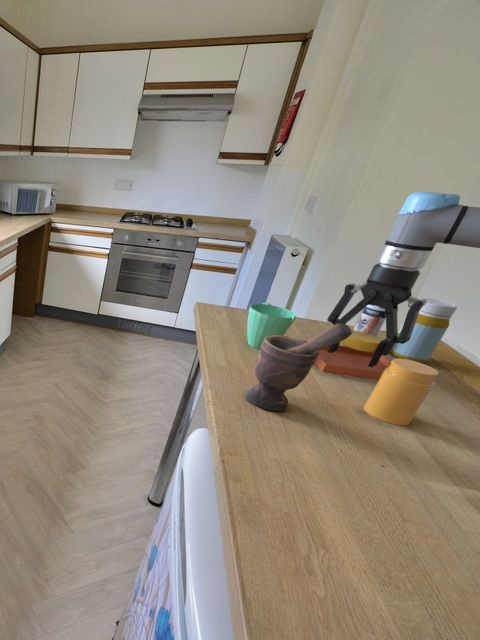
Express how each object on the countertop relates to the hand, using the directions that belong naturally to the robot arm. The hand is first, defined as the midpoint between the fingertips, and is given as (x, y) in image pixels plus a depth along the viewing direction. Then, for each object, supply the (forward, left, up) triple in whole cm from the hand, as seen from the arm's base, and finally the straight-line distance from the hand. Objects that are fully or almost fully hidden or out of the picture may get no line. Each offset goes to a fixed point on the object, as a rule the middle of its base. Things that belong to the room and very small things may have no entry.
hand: (351, 358), depth 100 cm
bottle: (-18, -10, -2) cm, 21 cm away
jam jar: (+5, +24, -2) cm, 24 cm away
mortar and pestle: (+26, +28, -2) cm, 38 cm away
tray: (0, 0, -2) cm, 2 cm away
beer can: (-9, -14, -2) cm, 17 cm away
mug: (+18, -6, -2) cm, 19 cm away
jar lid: (0, 0, +5) cm, 5 cm away
